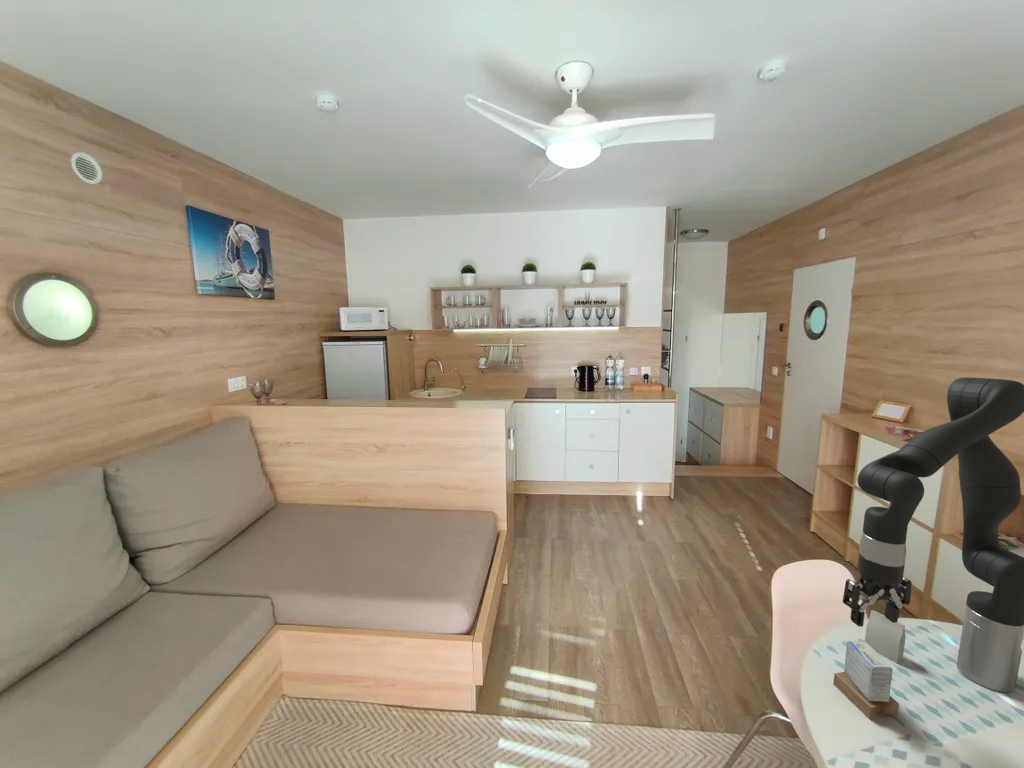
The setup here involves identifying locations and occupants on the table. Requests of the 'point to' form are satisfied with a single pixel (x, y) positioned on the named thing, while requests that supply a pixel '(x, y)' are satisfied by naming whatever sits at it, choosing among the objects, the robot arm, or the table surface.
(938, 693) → the table surface
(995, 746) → the table surface
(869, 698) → the medicine box
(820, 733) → the table surface
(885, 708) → the brown flat rectangular block
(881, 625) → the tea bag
